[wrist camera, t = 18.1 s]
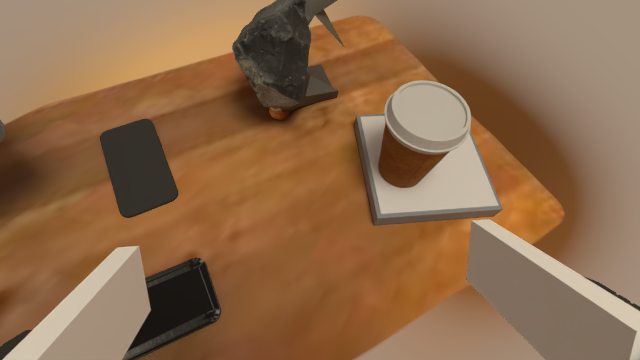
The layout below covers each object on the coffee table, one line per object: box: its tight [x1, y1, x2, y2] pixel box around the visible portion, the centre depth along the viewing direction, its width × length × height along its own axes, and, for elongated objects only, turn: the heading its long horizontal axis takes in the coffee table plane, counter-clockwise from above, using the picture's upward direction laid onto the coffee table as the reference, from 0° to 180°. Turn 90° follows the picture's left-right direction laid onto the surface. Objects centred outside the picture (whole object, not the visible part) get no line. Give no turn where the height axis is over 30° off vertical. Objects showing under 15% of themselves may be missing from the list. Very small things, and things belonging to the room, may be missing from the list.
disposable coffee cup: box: [378, 80, 471, 188], centre depth 41 cm, size 10×10×12 cm
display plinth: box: [354, 114, 503, 225], centre depth 48 cm, size 17×17×2 cm
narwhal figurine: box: [232, 0, 343, 120], centre depth 46 cm, size 14×15×18 cm
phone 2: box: [122, 258, 221, 360], centre depth 37 cm, size 8×1×15 cm
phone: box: [100, 119, 178, 218], centre depth 47 cm, size 7×1×15 cm
